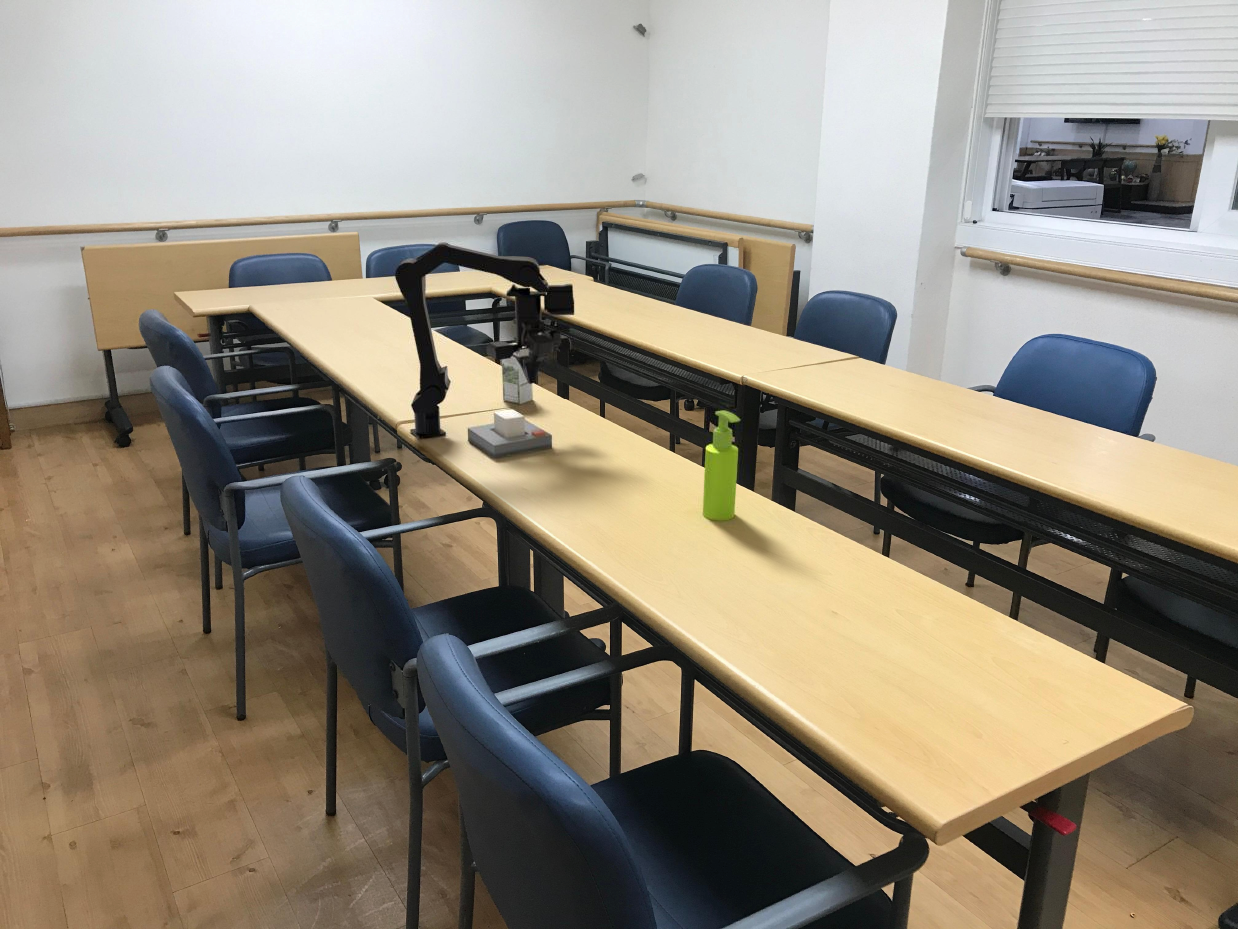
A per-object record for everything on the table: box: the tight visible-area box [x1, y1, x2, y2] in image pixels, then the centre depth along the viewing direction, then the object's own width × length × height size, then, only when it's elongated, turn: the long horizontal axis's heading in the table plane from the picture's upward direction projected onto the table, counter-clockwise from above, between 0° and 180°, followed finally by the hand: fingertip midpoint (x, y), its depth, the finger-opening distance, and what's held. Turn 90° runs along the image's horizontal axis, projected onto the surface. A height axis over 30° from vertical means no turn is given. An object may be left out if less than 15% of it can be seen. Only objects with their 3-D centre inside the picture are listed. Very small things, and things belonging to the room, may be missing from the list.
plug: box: [493, 408, 526, 438], centre depth 212 cm, size 6×5×6 cm
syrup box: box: [501, 342, 534, 405], centre depth 243 cm, size 6×6×14 cm
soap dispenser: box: [702, 410, 741, 521], centre depth 174 cm, size 6×7×20 cm
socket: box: [467, 419, 553, 459], centre depth 213 cm, size 14×14×4 cm
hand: (530, 383), depth 217 cm, fingers closed
